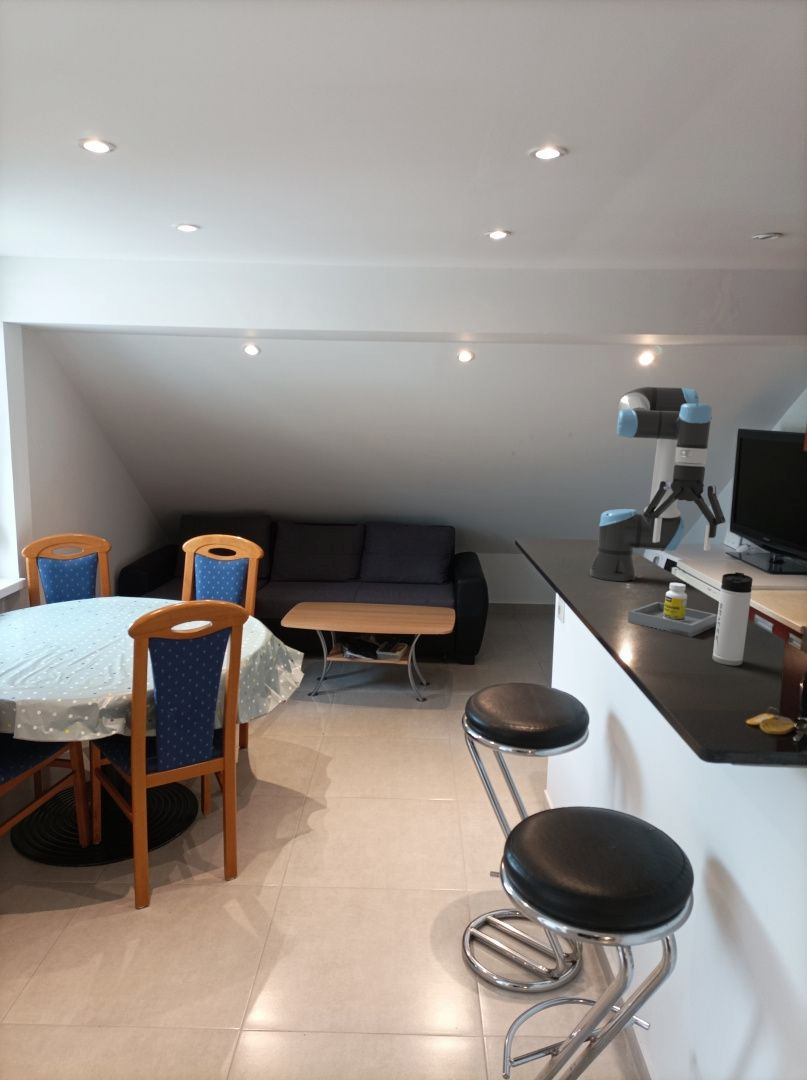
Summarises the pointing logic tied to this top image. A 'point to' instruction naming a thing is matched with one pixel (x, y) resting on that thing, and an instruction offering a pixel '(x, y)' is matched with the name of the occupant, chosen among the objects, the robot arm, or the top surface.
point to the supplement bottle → (675, 602)
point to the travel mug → (732, 619)
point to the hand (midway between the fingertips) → (680, 546)
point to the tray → (689, 627)
